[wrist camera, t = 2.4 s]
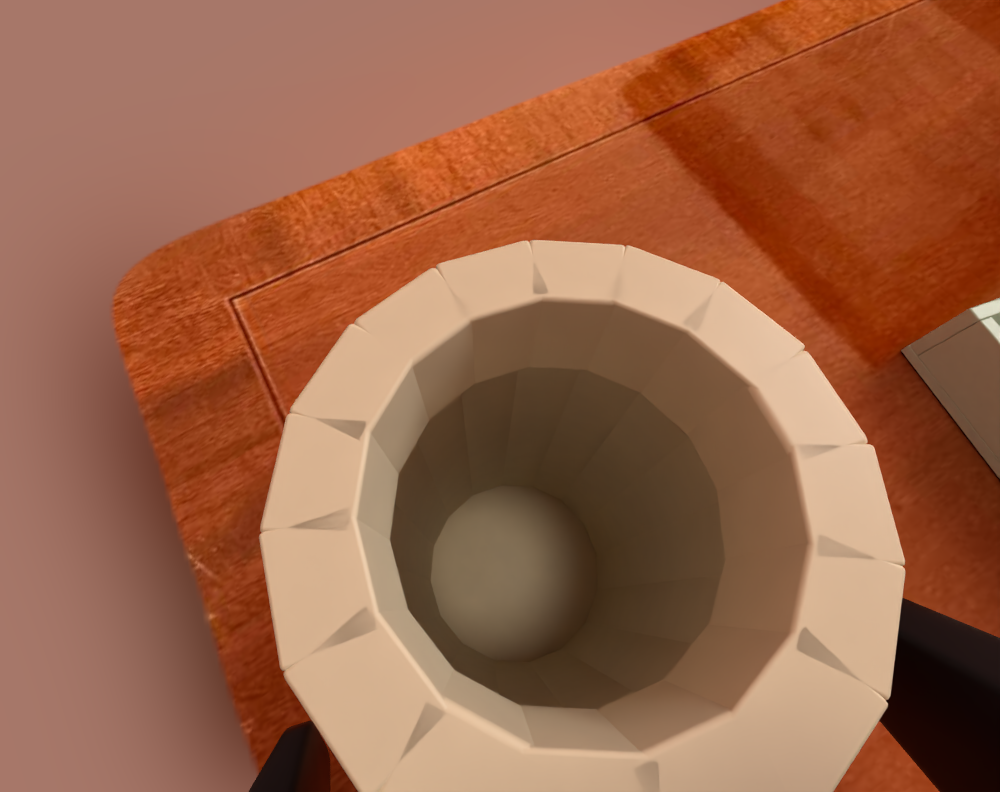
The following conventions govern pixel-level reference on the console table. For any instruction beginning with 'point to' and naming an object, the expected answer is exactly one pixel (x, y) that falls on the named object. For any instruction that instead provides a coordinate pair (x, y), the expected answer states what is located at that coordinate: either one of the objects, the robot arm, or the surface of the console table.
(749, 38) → the console table surface
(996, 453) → the tray
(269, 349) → the console table surface
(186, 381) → the console table surface
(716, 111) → the console table surface
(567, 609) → the jar
